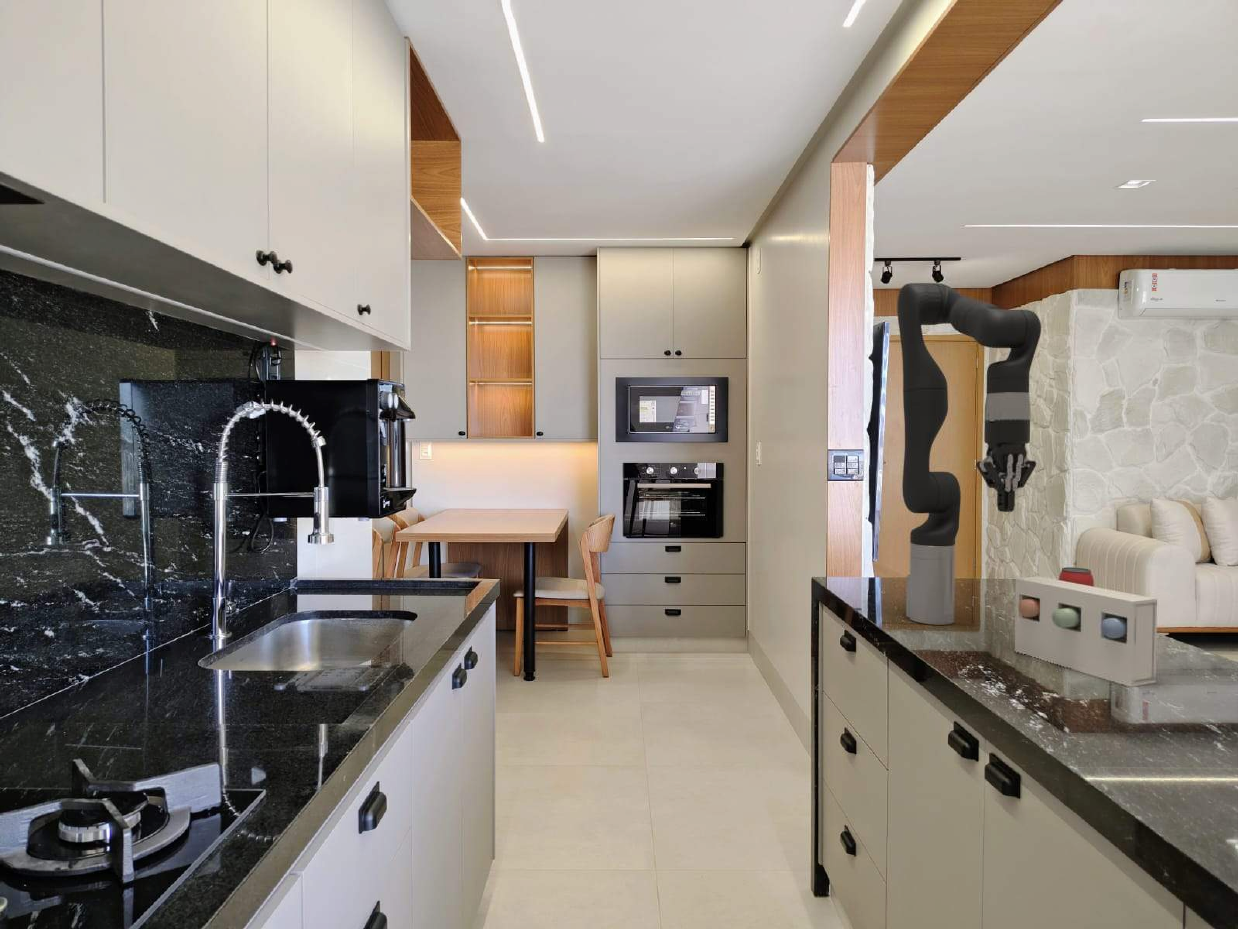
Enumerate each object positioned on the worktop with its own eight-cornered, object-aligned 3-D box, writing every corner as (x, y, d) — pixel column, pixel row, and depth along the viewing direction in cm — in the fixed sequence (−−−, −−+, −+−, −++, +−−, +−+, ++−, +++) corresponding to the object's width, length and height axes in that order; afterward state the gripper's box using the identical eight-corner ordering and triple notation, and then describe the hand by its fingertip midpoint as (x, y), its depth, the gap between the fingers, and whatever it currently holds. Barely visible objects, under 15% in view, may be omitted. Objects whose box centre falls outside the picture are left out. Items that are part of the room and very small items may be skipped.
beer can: (1060, 625, 162) (1061, 570, 162) (1055, 619, 168) (1056, 566, 168) (1096, 628, 159) (1097, 572, 159) (1089, 621, 166) (1090, 567, 165)
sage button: (1051, 625, 132) (1052, 607, 132) (1066, 623, 134) (1066, 605, 134) (1068, 629, 129) (1068, 611, 129) (1083, 627, 131) (1083, 609, 131)
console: (1014, 651, 142) (1015, 578, 142) (1037, 648, 144) (1038, 576, 144) (1130, 687, 122) (1132, 601, 121) (1155, 682, 124) (1157, 598, 123)
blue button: (1100, 635, 125) (1100, 616, 125) (1115, 633, 127) (1115, 615, 127) (1119, 640, 122) (1119, 621, 122) (1134, 638, 124) (1134, 619, 124)
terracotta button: (1018, 615, 140) (1018, 598, 140) (1032, 613, 142) (1032, 596, 141) (1033, 618, 137) (1033, 601, 137) (1047, 617, 139) (1047, 600, 138)
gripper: (1015, 419, 144) (1014, 508, 145) (963, 418, 139) (962, 511, 140) (1051, 417, 137) (1049, 512, 138) (997, 417, 132) (996, 514, 133)
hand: (1005, 511), depth 139 cm, fingers closed
